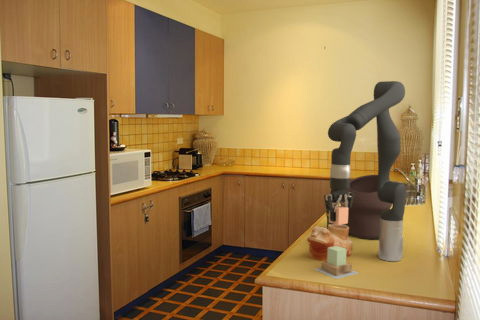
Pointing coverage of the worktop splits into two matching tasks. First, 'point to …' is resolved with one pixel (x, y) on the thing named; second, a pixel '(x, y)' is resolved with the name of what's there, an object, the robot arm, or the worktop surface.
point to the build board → (336, 276)
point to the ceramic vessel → (328, 240)
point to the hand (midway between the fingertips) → (338, 220)
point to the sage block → (336, 256)
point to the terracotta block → (340, 215)
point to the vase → (365, 208)
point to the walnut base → (336, 268)
